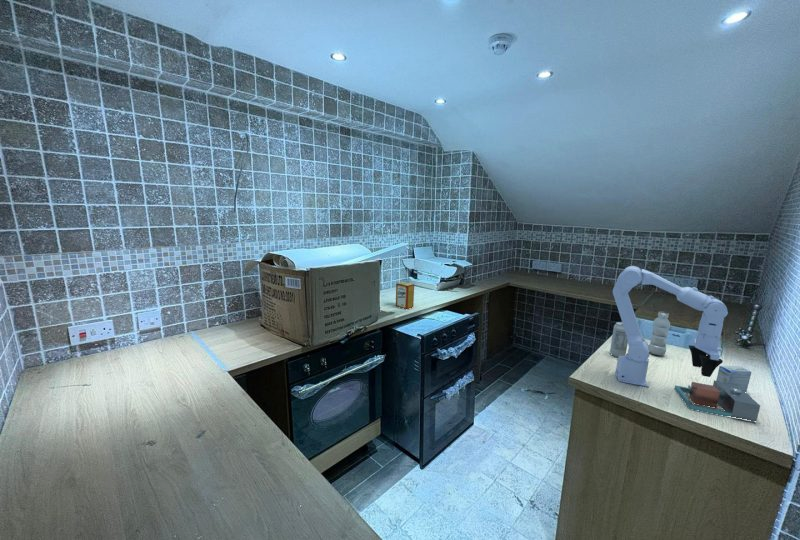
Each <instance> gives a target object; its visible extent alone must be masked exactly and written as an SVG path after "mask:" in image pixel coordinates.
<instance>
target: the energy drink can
mask: <svg viewBox="0 0 800 540" xmlns="http://www.w3.org/2000/svg"><path fill="white" fill-rule="evenodd" d="M612 329H613V331H612V336H611V343H610V348H609V353H610V355H611V354H612V355H613V356H612V355H611V356H612V357H615V358H618V357H619V356H626V354H627V350H628V341H627V335H626V332H625V329H624V326H623V323H622V321H617V322H615V323H614V325H613V328H612Z"/></svg>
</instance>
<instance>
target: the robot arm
mask: <svg viewBox="0 0 800 540" xmlns="http://www.w3.org/2000/svg"><path fill="white" fill-rule="evenodd" d="M640 283H641V285H642V286H643V285H644V286H645V285H646V286H647V285H652V286H655V287H657V288H659V289H660V290H663V291H666V292H667V293H670V294H673V295H674V296H676V300H677V301H679V302H680V303H682V304H684V305H687V306H689V307H690V308H692V309H694V310H696V311H701V312H702V314H701V318H700V321H699V325H698V329H697V335H696V338H694V339H693V344H692V345H691V344H690V345H689V344H688V348H689V351H690V355H691V365H692V366H693V367H695V368H700V369H701V370H700V374H701V376H702V377H706V378H711V377H712V375H713V373H714V372H715V370H716V369H717V368H718V367H719V366H721V364H723V363H724V361H723V359H721V358H720V357H721V354H720V353H719V352H723V348H721V347H719V345H720V340H721V337H722V336H721V335H722V331H723V326H724V321H725V318H726V317H727V315H728V314H729V312H728V308H727V306H726V304H725V303H724V302H723V301H722V300H720V299H719V298H716V297H715V296H713V295H707V294H705V293H703V292H700V291H699V289H698V288H697V287H695V286H693V287H690V286H685V287H684V286H683V287H681V286H680V285H677V284H676V283H674V282H671V281H669V280H668V279H666V278H664V277H662V276H660V275H658V274H656V273H654V272H652V271H649V270H647V269H643V268H640V267H638V266H636V265H629V266H627V267H625V268H624V269H623V270H622V271H621V272H620V274H619V275H618V277H617V279H616V282H615V283H614V286H613V289H612V295H613V297H614V301H615V304H616V307H617V310H618V314H619V316H620V319H621V322H622V323H623V326H624V329H625V332H626V335H627V341H628V344H627V346H628V348H627V350H628V351H627V352H626V356H619V357H617V360H616V368H615V372H614V373H615V375H616V377H617V379H618V381H619V382H622V383H627V384H632V385H637V386H642V387H647V388H648V387H649V386H650V385H649V383H648V382H647V380H646V379H647V375H648V374H647V373H648V368H649V362H650V359H649V357H650V352H649V343H648V342H647V341H646V340H645V339H644V336H643V334H642V332H641V329H640V327H639V322H638V321H637V320H638V319H637V317H636V315H635V313H636V312H635V311H634V308H633V307H634V306H633V304H632V301H631V298H630V296H629V293H630V291H631V290H632V289H633V288H634V287H636V286H637V285H638V284H640Z"/></svg>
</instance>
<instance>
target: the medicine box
mask: <svg viewBox="0 0 800 540" xmlns="http://www.w3.org/2000/svg"><path fill="white" fill-rule="evenodd" d="M751 375H752V371H751V370H749V369H747V368H745V367H742V366H741V365H719V366H718V371H717V376H716V380H715V381H720V382H726V383H731V384H736V385H738V386H739V387H740V388H741V389H742V390H743V391H744V392H746V393H747V392H748V387H749V384H750V379H751Z"/></svg>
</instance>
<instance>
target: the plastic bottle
mask: <svg viewBox="0 0 800 540" xmlns="http://www.w3.org/2000/svg"><path fill="white" fill-rule="evenodd" d="M669 314H670V313H669V312H666V311H658V314H657V316H658V317H656V318H655V319H654V320H653V322H652V335H651V336H652V337H651V339H650V341H649V343H648V345H649V354H652V355H654V356H658V357H659V356H660V357H661V356H665V355H666V352H667V338H668V334H669V332H670V328H671V326H672V325H671V322H670V321H669V319H668V318H669V317H670V316H669Z"/></svg>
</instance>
